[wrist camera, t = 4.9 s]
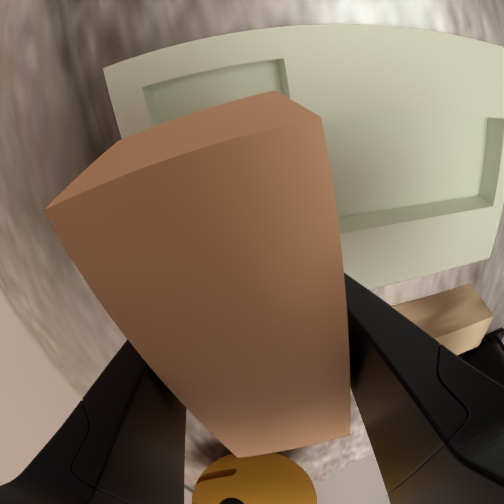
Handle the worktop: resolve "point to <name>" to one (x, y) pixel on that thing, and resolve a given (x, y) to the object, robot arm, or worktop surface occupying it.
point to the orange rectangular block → (224, 267)
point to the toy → (254, 481)
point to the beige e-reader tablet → (451, 317)
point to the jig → (360, 128)
